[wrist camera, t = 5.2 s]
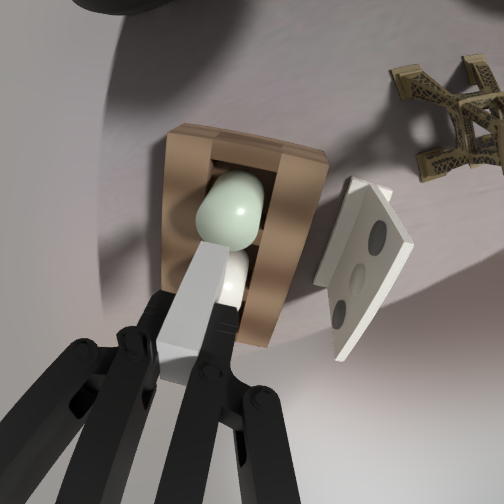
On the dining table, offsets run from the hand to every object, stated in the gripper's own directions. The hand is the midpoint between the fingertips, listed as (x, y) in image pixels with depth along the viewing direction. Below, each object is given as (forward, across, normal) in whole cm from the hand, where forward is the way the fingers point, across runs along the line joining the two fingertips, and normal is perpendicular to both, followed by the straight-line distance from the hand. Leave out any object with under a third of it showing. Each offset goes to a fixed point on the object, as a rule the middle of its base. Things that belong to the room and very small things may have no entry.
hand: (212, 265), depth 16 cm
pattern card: (+12, +11, -3) cm, 17 cm away
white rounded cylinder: (+9, 0, -6) cm, 11 cm away
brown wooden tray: (+12, 0, -6) cm, 14 cm away
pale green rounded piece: (+9, 0, 0) cm, 9 cm away
